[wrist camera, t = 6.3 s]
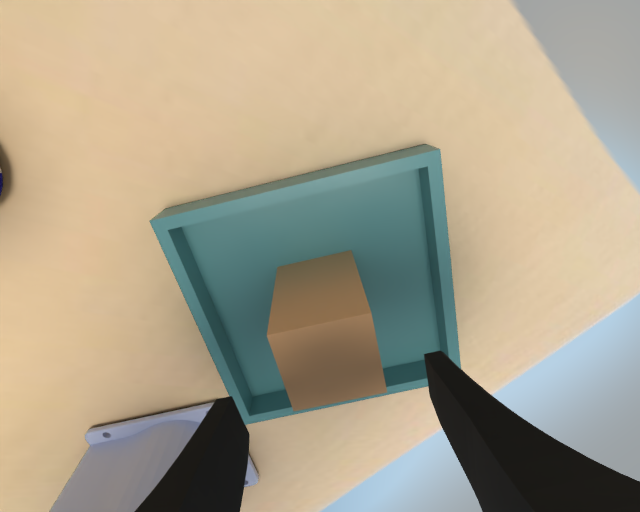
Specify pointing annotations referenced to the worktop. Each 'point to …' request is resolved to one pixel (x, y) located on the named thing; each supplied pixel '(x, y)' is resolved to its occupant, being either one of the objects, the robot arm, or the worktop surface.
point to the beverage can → (1, 181)
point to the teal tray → (313, 242)
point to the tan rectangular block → (324, 333)
